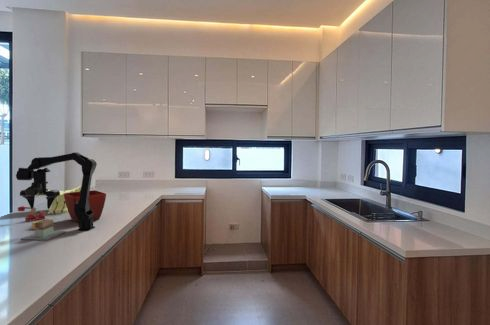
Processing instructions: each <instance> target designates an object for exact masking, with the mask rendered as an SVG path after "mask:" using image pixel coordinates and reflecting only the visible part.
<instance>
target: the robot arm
mask: <svg viewBox="0 0 490 325" xmlns="http://www.w3.org/2000/svg"><path fill="white" fill-rule="evenodd" d="M69 161H74V162H76V163H77V164H78V165H79V166H81V172H82V180H81V185H82V186H81V185H80V186H81V192H80V199H79V202H77V203H75V205H74V210H75V211H74V210H73V211H74V213H75V214H76V216H77V217H78V219H79V223H78V228H77V231H90V230H92V229H94V228H96V226H94V220H93V218H92V216H93V215H94V212H93V211H91V210H90V205H89V201H88V198H89V192H90V191H91V185H92V184H91V183H92V179H93V178H92V176H93V175H94V173H95V170H96V168H97V162H96V161H95V159H91V158H89V157H87V156H85V155H83V154H81V153H79V152H77V151H76V152H71V153H68V154H67V153H66V154H61V155H60V154H59V155H56V156H45V157H44V156H42V157H39V156H38V157H34V158H32V160H31V163H30V164H29V166H28V167H18V170H17V171H16V174H15V177H16V180H17V181H31V180H32V179H33V180H32V181H33V182H31V183H30V184H31V185H30V186H29V187H27V188H26V189H22V190H20V191H19V196H20V197H22V198H24V199H25V200H26V201H27V203H28V205H29V207H31V208H33V207H34V206H35V198H36V195H44V196H45V195H46V196H45V199H46V202H47V203H46V207H47V208H46V209H48V210H50V209H51V207H52V203H53V201H54V199H55V198H56V197H57V196H58V195H60V192H59V191H60V190H58V189H51V190H50V189H48V188H47V184H49V181H47V173H51V170H50V169H49V168H48V166H52V165H54V164H58V163H62V162H69ZM48 190H49V191H48ZM57 198H58V197H57ZM34 208H35V207H34Z"/></svg>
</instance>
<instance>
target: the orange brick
mask: <svg viewBox="0 0 490 325" xmlns="http://www.w3.org/2000/svg"><path fill="white" fill-rule="evenodd" d="M39 221H42V220H41V219H40V220H35V221H32V222H31V229H32V230H35V223H36V222H39Z"/></svg>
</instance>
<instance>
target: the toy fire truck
mask: <svg viewBox="0 0 490 325" xmlns="http://www.w3.org/2000/svg"><path fill="white" fill-rule="evenodd" d="M25 210H30V211H29V212H28V214H27V216H28V217H25V222H30V221H31V222H36V221H40V220H45V219H46V215H45V212H43V211H39V212H38V215H35V214H34V213H35V211H37V208H36V207H33V208H31V207H30V206H24V205H22V206H18V207H17V211H18V212H25Z"/></svg>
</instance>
